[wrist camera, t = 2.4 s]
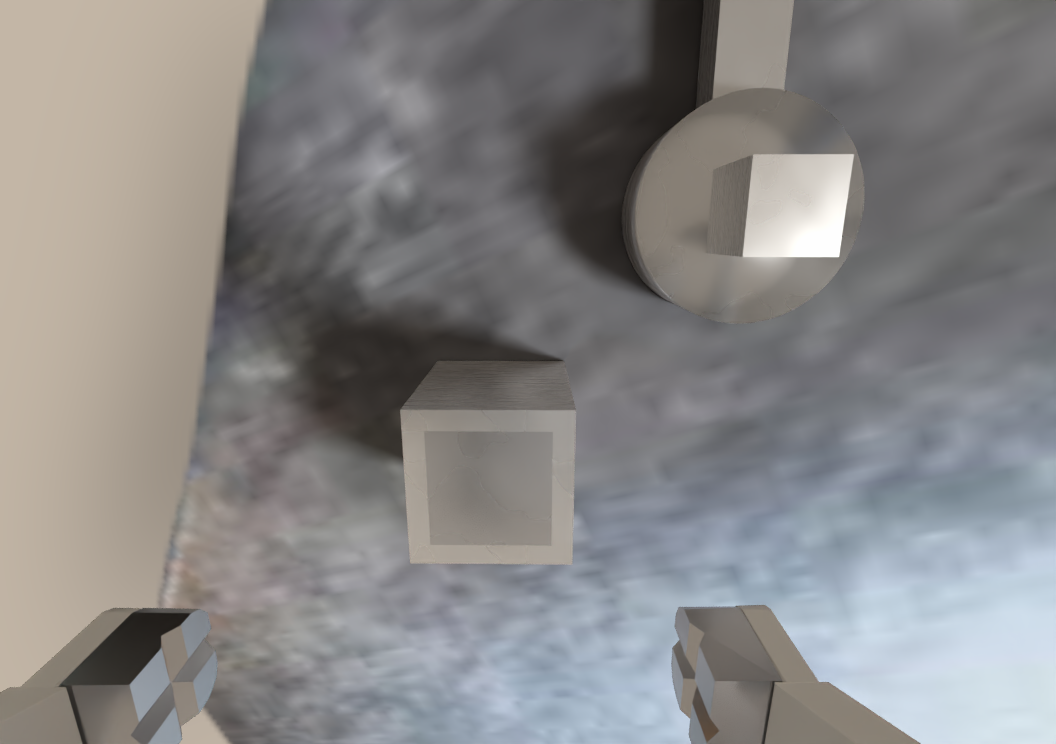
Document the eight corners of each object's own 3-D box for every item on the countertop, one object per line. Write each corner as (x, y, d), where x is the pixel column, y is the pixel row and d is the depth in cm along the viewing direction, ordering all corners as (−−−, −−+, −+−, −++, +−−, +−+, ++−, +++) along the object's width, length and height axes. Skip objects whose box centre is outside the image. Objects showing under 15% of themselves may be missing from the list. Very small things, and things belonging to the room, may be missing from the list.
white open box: (562, 477, 22) (572, 564, 16) (443, 476, 22) (410, 562, 16) (564, 361, 21) (575, 410, 15) (437, 360, 21) (400, 409, 15)
